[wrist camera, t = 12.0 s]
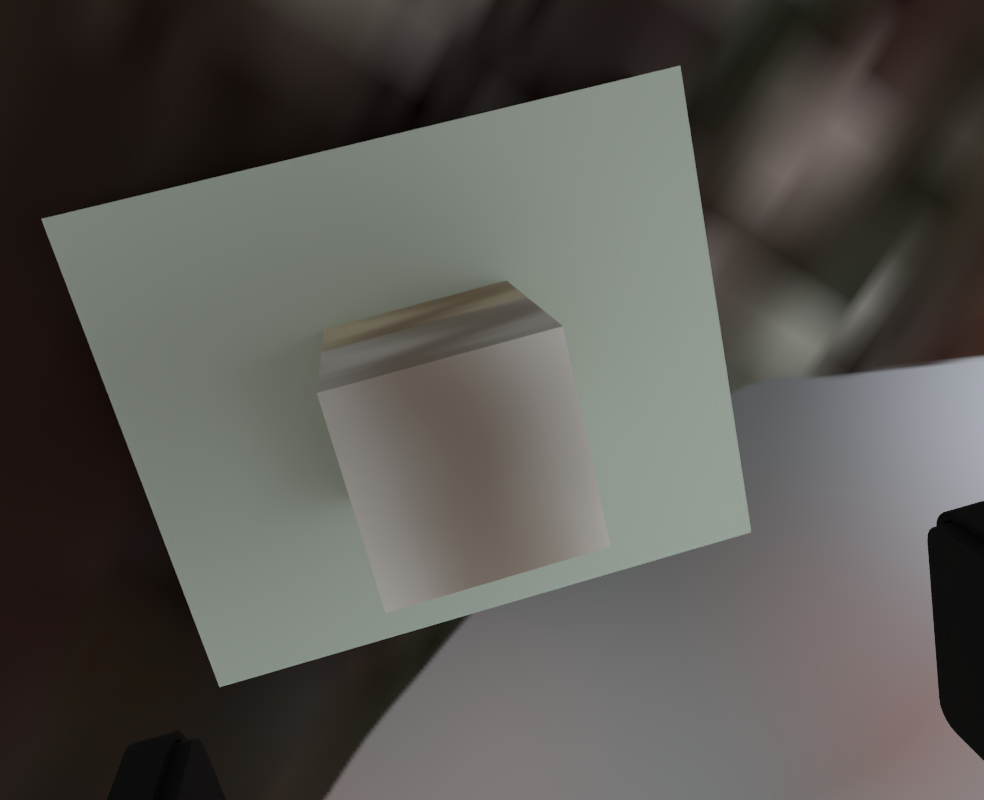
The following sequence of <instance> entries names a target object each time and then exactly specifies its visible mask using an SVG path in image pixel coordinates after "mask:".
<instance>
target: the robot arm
mask: <svg viewBox="0 0 984 800" xmlns="http://www.w3.org/2000/svg"><path fill="white" fill-rule="evenodd" d="M928 553H929V565H930V579H931V593H932V606H933V620H934V633H935V646H936V658H937V659H936V660H937V673H938V687H939V699H940V705H941V708H942V711H943V713H944V716H945V718H946V720H947V721H948V723H949V724H950V726H951V727H952V728H953V730H954V731H955V732H956V733H957V734H958V735H959V736H960V737H961V738H962V739H963V740H964V741H965V742H966V743H967V744H968V745H969V746H970V747H971V748H972V749H973V750H974V751H975V752H976V753H977V754H978V755H979V756H980V757H981V758H982V759H983V760H984V501H982V502H978V503H975V504H971V505H968V506H964V507H961V508H957V509H954V510H950V511H947V512H943V513H942V514H941V515H940V516H939V518H938V520H937V527H933V528H932V529H930V531H929V533H928ZM107 800H226V799H225V797H224V794H223V792H222V789H221V787H220V784H219V782H218V779H217V777H216V774H215V772H214V769H213V767H212V764H211V762H210V759H209V757H208V754H207V752H206V750H205V747H204V745H203V743H202V742H201V741H200V739H198V738H194V739H191V740H187V739H186V738H185V736H184V735H183V734H182V733H181V732H180V731H173V732H170V733H166V734H163V735H159V736H156V737H152V738H149V739H145V740H142V741H138V742H135V743H132V744H130V745H129V746H128V747H127V749H126V751H125V753H124V756H123V758H122V761H121V764H120V766H119V769H118V772H117V774H116V777H115V780H114V783H113V785H112V788H111V791H110V793H109V796H108V799H107Z"/></svg>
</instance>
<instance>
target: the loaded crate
mask: <svg viewBox="0 0 984 800" xmlns="http://www.w3.org/2000/svg"><path fill="white" fill-rule="evenodd" d="M317 396H318V399H319V402H320V405H321V408H322V412H323V415H324V418H325V421H326V424H327V428H328V431H329V434H330V437H331V440H332V444H333V447H334V450H335V453H336V456H337V460H338V463H339V466H340V469H341V472H342V476H343V479H344V482H345V485H346V488H347V492H348V495H349V498H350V501H351V504H352V508H353V511H354V514H355V517H356V520H357V524H358V527H359V530H360V533H361V536H362V540H363V543H364V546H365V549H366V552H367V556H368V559H369V562H370V565H371V568H372V572H373V575H374V578H375V581H376V584H377V588H378V591H379V594H380V597H381V600H382V604H383V607H384V610H385V613H388V612H392V611H395V610H398V609H402V608H405V607H409V606H412V605H415V604H419V603H422V602H425V601H429V600H432V599H436V598H439V597H442V596H446V595H449V594H453V593H456V592H459V591H463V590H466V589H469V588H473V587H476V586H480V585H483V584H486V583H490V582H493V581H496V580H500V579H503V578H507V577H510V576H513V575H517V574H520V573H523V572H527V571H530V570H534V569H537V568H540V567H544V566H547V565H551V564H554V563H557V562H561V561H564V560H567V559H571V558H574V557H578V556H581V555H584V554H588V553H591V552H594V551H598V550H601V549H605V548H608V547H611V546H610V541H609V537H608V532H607V527H606V523H605V518H604V513H603V509H602V504H601V500H600V495H599V490H598V486H597V481H596V476H595V472H594V467H593V462H592V458H591V453H590V449H589V444H588V439H587V435H586V430H585V425H584V421H583V416H582V412H581V407H580V402H579V398H578V393H577V388H576V384H575V379H574V375H573V370H572V365H571V361H570V356H569V351H568V347H567V342H566V338H565V333H564V328H563V326H562V325H561V324H560V323H559V322H557V321H556V320H555V319H554V318H552V317H551V316H550V315H549V314H547V313H546V312H545V311H544V310H542V309H541V308H540V307H539V306H537V305H536V304H535V303H534V302H533V301H531V300H530V299H529V298H528V297H526V296H525V295H524V294H523V293H521V292H520V291H519V290H518V289H516V288H515V287H514V286H513V285H512V284H510V283H509V282H508V281H503V282H499V283H496V284H492V285H488V286H484V287H481V288H477V289H473V290H469V291H466V292H462V293H458V294H454V295H451V296H447V297H443V298H439V299H435V300H432V301H428V302H424V303H420V304H417V305H413V306H409V307H405V308H402V309H398V310H394V311H390V312H387V313H383V314H379V315H375V316H372V317H368V318H364V319H360V320H356V321H353V322H349V323H345V324H341V325H338V326H334V327H330V328H326V329H324V331H323V340H322V349H321V358H320V368H319V377H318V386H317Z"/></svg>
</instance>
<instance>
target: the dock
mask: <svg viewBox="0 0 984 800" xmlns="http://www.w3.org/2000/svg"><path fill="white" fill-rule="evenodd" d="M41 220H42V222H43V225H44V228H45V230H46V233H47V235H48V238H49V241H50V243H51V246H52V249H53V251H54V254H55V256H56V259H57V262H58V264H59V267H60V270H61V272H62V275H63V277H64V280H65V283H66V285H67V288H68V291H69V293H70V296H71V298H72V301H73V304H74V306H75V309H76V312H77V314H78V317H79V319H80V322H81V325H82V327H83V330H84V333H85V335H86V338H87V340H88V343H89V346H90V348H91V351H92V354H93V356H94V359H95V361H96V364H97V367H98V369H99V372H100V375H101V377H102V380H103V382H104V385H105V388H106V390H107V393H108V396H109V398H110V401H111V403H112V406H113V409H114V411H115V414H116V417H117V419H118V422H119V424H120V427H121V430H122V432H123V435H124V438H125V440H126V443H127V445H128V448H129V451H130V453H131V456H132V459H133V461H134V464H135V466H136V469H137V472H138V474H139V477H140V480H141V482H142V485H143V487H144V490H145V493H146V495H147V498H148V501H149V503H150V506H151V508H152V511H153V514H154V516H155V519H156V522H157V524H158V527H159V529H160V532H161V535H162V537H163V540H164V543H165V545H166V548H167V551H168V553H169V556H170V558H171V561H172V564H173V566H174V569H175V572H176V574H177V577H178V579H179V582H180V585H181V587H182V590H183V593H184V595H185V598H186V600H187V603H188V606H189V608H190V611H191V614H192V616H193V619H194V621H195V624H196V627H197V629H198V632H199V635H200V637H201V640H202V642H203V645H204V648H205V650H206V653H207V656H208V658H209V661H210V663H211V666H212V669H213V671H214V674H215V677H216V679H217V682H218V684H219V687H222V686H225V685H229V684H232V683H236V682H239V681H243V680H246V679H249V678H253V677H256V676H260V675H263V674H267V673H270V672H273V671H277V670H280V669H284V668H287V667H291V666H294V665H298V664H301V663H304V662H308V661H311V660H315V659H318V658H322V657H325V656H328V655H332V654H335V653H339V652H342V651H346V650H349V649H352V648H356V647H359V646H363V645H366V644H370V643H373V642H376V641H380V640H383V639H387V638H390V637H394V636H397V635H400V634H404V633H407V632H411V631H414V630H418V629H421V628H424V627H428V626H431V625H435V624H438V623H442V622H445V621H448V620H452V619H455V618H459V617H462V616H466V615H469V614H472V613H476V612H479V611H482V610H486V609H490V608H493V607H496V606H500V605H503V604H507V603H510V602H513V601H517V600H520V599H524V598H527V597H530V596H534V595H537V594H541V593H544V592H548V591H551V590H555V589H558V588H562V587H565V586H568V585H571V584H575V583H578V582H582V581H586V580H589V579H592V578H596V577H599V576H603V575H606V574H609V573H613V572H616V571H620V570H623V569H627V568H630V567H634V566H637V565H640V564H644V563H647V562H651V561H654V560H658V559H661V558H664V557H668V556H671V555H675V554H678V553H682V552H685V551H688V550H692V549H695V548H699V547H702V546H706V545H709V544H712V543H716V542H719V541H723V540H726V539H729V538H733V537H736V536H740V535H743V534H747V533H750V532H751V527H750V521H749V514H748V507H747V502H746V494H745V488H744V481H743V475H742V468H741V462H740V455H739V449H738V442H737V435H736V429H735V422H734V415H733V409H732V402H731V396H730V389H729V383H728V376H727V369H726V363H725V356H724V350H723V343H722V337H721V330H720V323H719V317H718V310H717V304H716V297H715V291H714V284H713V277H712V271H711V264H710V258H709V251H708V245H707V238H706V231H705V225H704V218H703V212H702V205H701V199H700V192H699V185H698V179H697V172H696V166H695V159H694V152H693V146H692V139H691V133H690V126H689V120H688V113H687V106H686V100H685V93H684V87H683V80H682V74H681V67H680V66H677V67H672V68H668V69H664V70H660V71H656V72H652V73H647V74H643V75H639V76H635V77H631V78H627V79H622V80H618V81H614V82H610V83H606V84H602V85H597V86H593V87H589V88H585V89H581V90H577V91H572V92H568V93H564V94H560V95H556V96H552V97H547V98H543V99H539V100H535V101H531V102H527V103H523V104H518V105H514V106H510V107H506V108H502V109H498V110H493V111H489V112H485V113H481V114H477V115H473V116H468V117H464V118H460V119H456V120H452V121H448V122H443V123H439V124H435V125H431V126H427V127H423V128H418V129H414V130H410V131H406V132H402V133H398V134H393V135H389V136H385V137H381V138H377V139H373V140H368V141H364V142H360V143H356V144H352V145H348V146H343V147H339V148H335V149H331V150H327V151H323V152H318V153H314V154H310V155H306V156H302V157H298V158H293V159H289V160H285V161H281V162H277V163H273V164H268V165H264V166H260V167H256V168H252V169H248V170H243V171H239V172H235V173H231V174H227V175H223V176H218V177H214V178H210V179H206V180H202V181H198V182H193V183H189V184H185V185H181V186H177V187H173V188H168V189H164V190H160V191H156V192H152V193H148V194H143V195H139V196H135V197H131V198H127V199H123V200H118V201H114V202H110V203H106V204H102V205H98V206H93V207H89V208H85V209H81V210H77V211H73V212H68V213H64V214H60V215H56V216H52V217H48V218H43V219H41ZM503 281H508V282H509V283H510V284H512V285H513V286H514V287H515V288H516V289H518V290H519V291H520V292H521V293H523V294H524V295H525V296H526V297H528V298H529V299H530V300H531V301H533V302H534V303H535V304H536V305H537V306H539V307H540V308H541V309H542V310H544V311H545V312H546V313H547V314H549V315H550V316H551V317H552V318H554V319H555V320H556V321H557V322H559V323H560V324H561V325H562V326H563V328H564V333H565V338H566V342H567V347H568V351H569V356H570V361H571V365H572V370H573V375H574V379H575V384H576V388H577V393H578V398H579V402H580V407H581V412H582V416H583V421H584V425H585V430H586V435H587V439H588V444H589V449H590V453H591V458H592V462H593V467H594V472H595V476H596V481H597V486H598V490H599V495H600V500H601V504H602V509H603V513H604V518H605V523H606V527H607V532H608V537H609V541H610V546H611V547H608V548H605V549H601V550H598V551H594V552H591V553H588V554H584V555H581V556H578V557H574V558H571V559H567V560H564V561H561V562H557V563H554V564H551V565H547V566H544V567H540V568H537V569H534V570H530V571H527V572H523V573H520V574H517V575H513V576H510V577H507V578H503V579H500V580H496V581H493V582H490V583H486V584H483V585H480V586H476V587H473V588H469V589H466V590H463V591H459V592H456V593H453V594H449V595H446V596H442V597H439V598H436V599H432V600H429V601H425V602H422V603H419V604H415V605H412V606H409V607H405V608H402V609H398V610H395V611H392V612H388V613H385V610H384V607H383V604H382V600H381V597H380V594H379V591H378V588H377V584H376V581H375V578H374V575H373V572H372V568H371V565H370V562H369V559H368V556H367V552H366V549H365V546H364V543H363V540H362V536H361V533H360V530H359V527H358V524H357V520H356V517H355V514H354V511H353V508H352V504H351V501H350V498H349V495H348V492H347V488H346V485H345V482H344V479H343V476H342V472H341V469H340V466H339V463H338V460H337V456H336V453H335V450H334V447H333V444H332V440H331V437H330V434H329V431H328V428H327V424H326V421H325V418H324V415H323V412H322V408H321V405H320V402H319V399H318V396H317V386H318V377H319V368H320V358H321V349H322V340H323V331H324V329H326V328H330V327H334V326H338V325H341V324H345V323H349V322H353V321H356V320H360V319H364V318H368V317H372V316H375V315H379V314H383V313H387V312H390V311H394V310H398V309H402V308H405V307H409V306H413V305H417V304H420V303H424V302H428V301H432V300H435V299H439V298H443V297H447V296H451V295H454V294H458V293H462V292H466V291H469V290H473V289H477V288H481V287H484V286H488V285H492V284H496V283H499V282H503Z"/></svg>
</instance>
